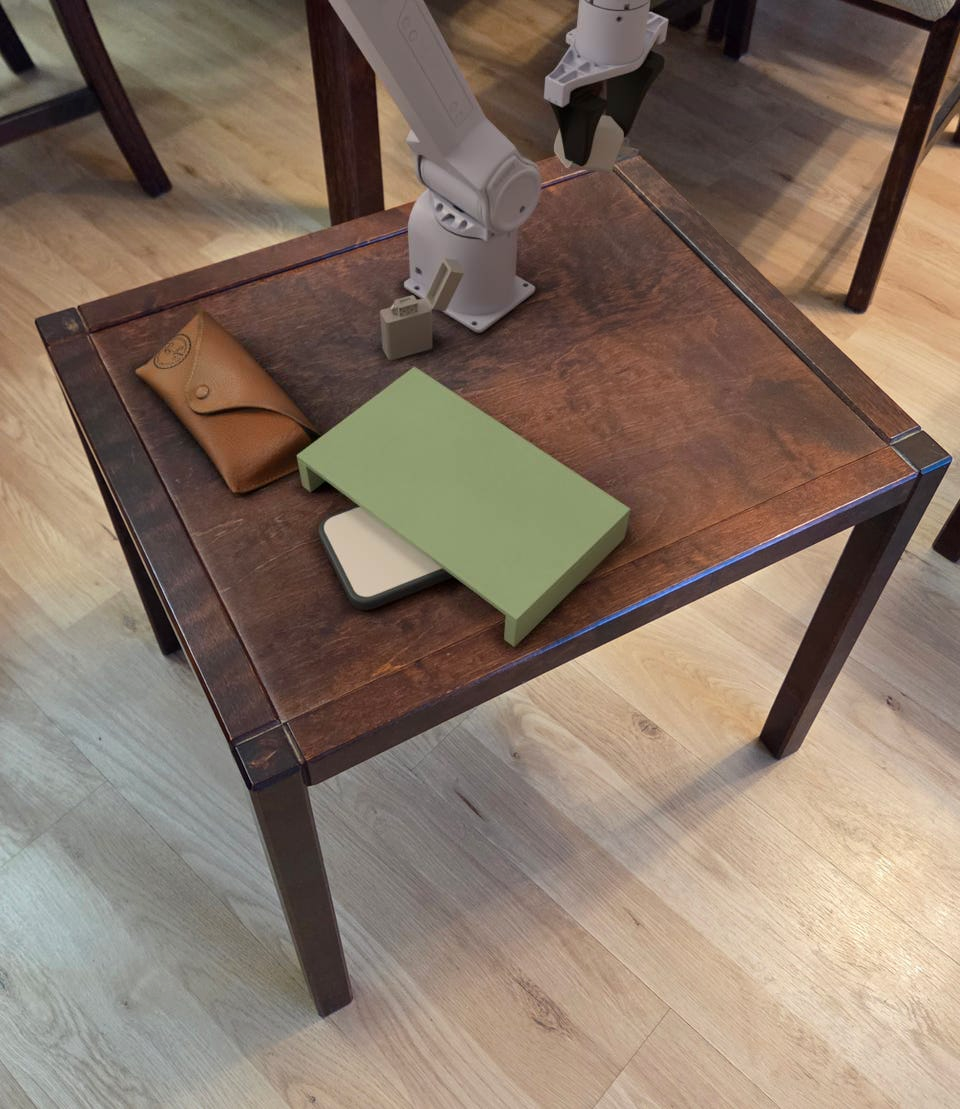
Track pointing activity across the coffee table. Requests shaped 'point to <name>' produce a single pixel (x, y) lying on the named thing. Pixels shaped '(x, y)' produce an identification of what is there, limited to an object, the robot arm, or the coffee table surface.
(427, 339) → the lighter
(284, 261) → the coffee table surface
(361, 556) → the phone case
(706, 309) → the coffee table surface
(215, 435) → the sunglasses case
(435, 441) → the riser stand
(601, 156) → the usb wall charger
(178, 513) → the coffee table surface
